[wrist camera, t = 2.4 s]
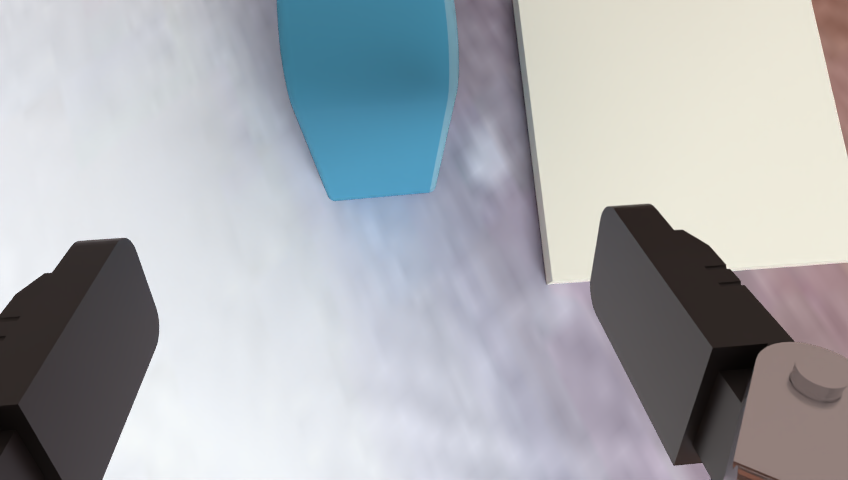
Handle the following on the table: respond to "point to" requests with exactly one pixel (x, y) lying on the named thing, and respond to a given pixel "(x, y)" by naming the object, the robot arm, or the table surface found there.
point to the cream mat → (684, 127)
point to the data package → (371, 90)
